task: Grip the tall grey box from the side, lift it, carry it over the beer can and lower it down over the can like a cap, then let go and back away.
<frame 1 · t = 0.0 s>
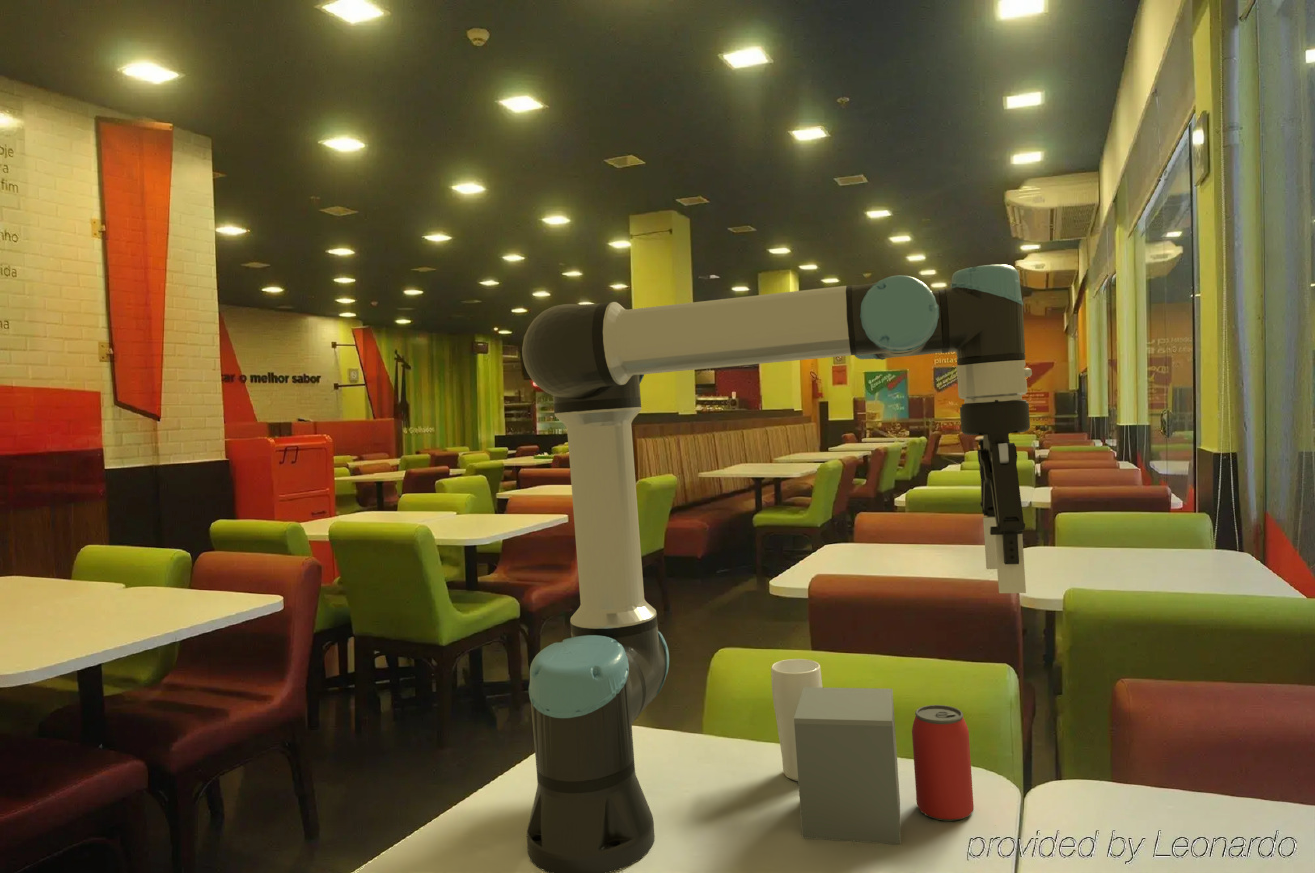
hand: (1004, 580, 100), 28 cm above the table, tool pointing down, fingers open, 13 cm apart
beer can: (945, 811, 104), on the table
tall grey box: (852, 817, 103), on the table
drinking glass: (803, 775, 116), on the table
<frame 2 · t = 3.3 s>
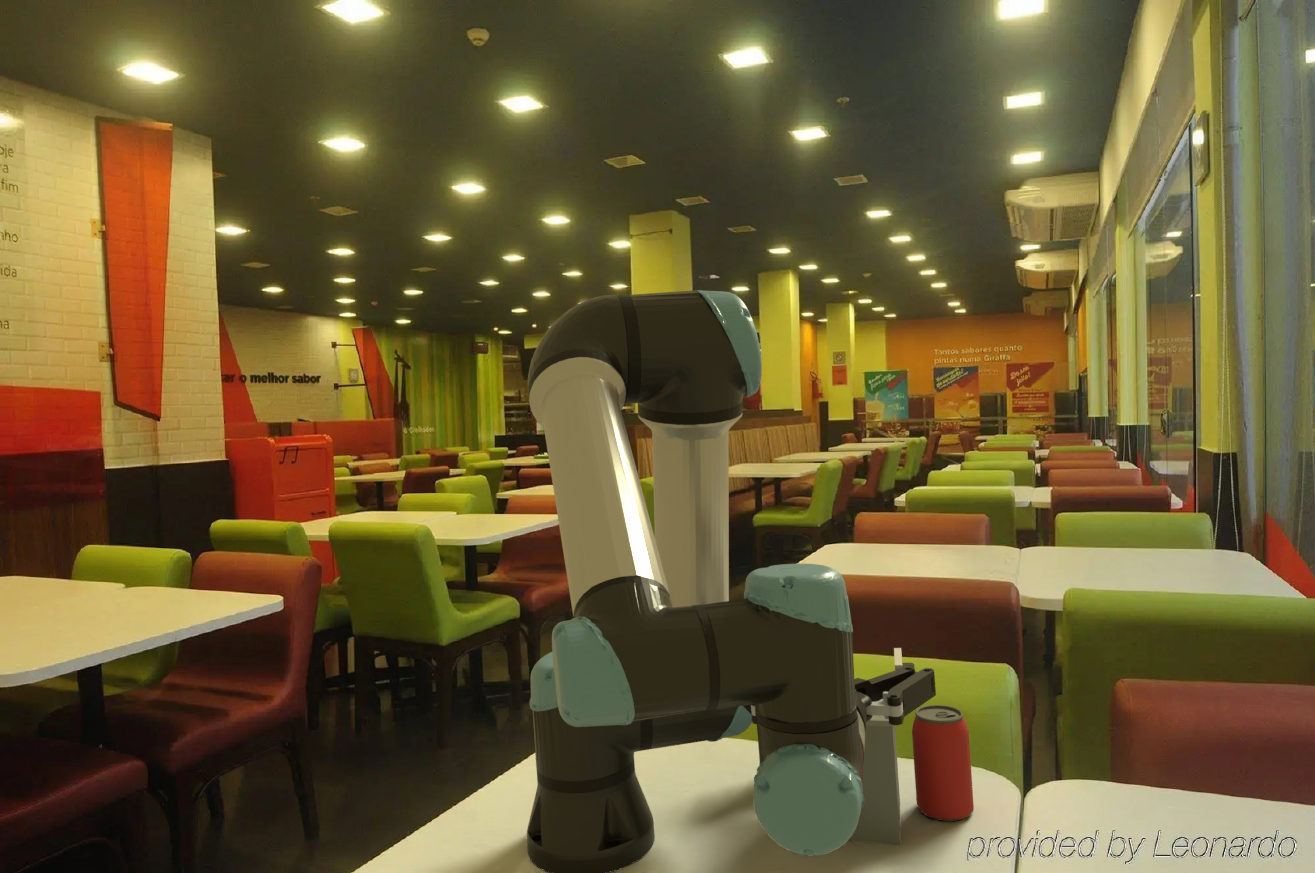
hand: (834, 660, 94), 22 cm above the table, tool horizontal, fingers open, 13 cm apart
nothing on the table moved.
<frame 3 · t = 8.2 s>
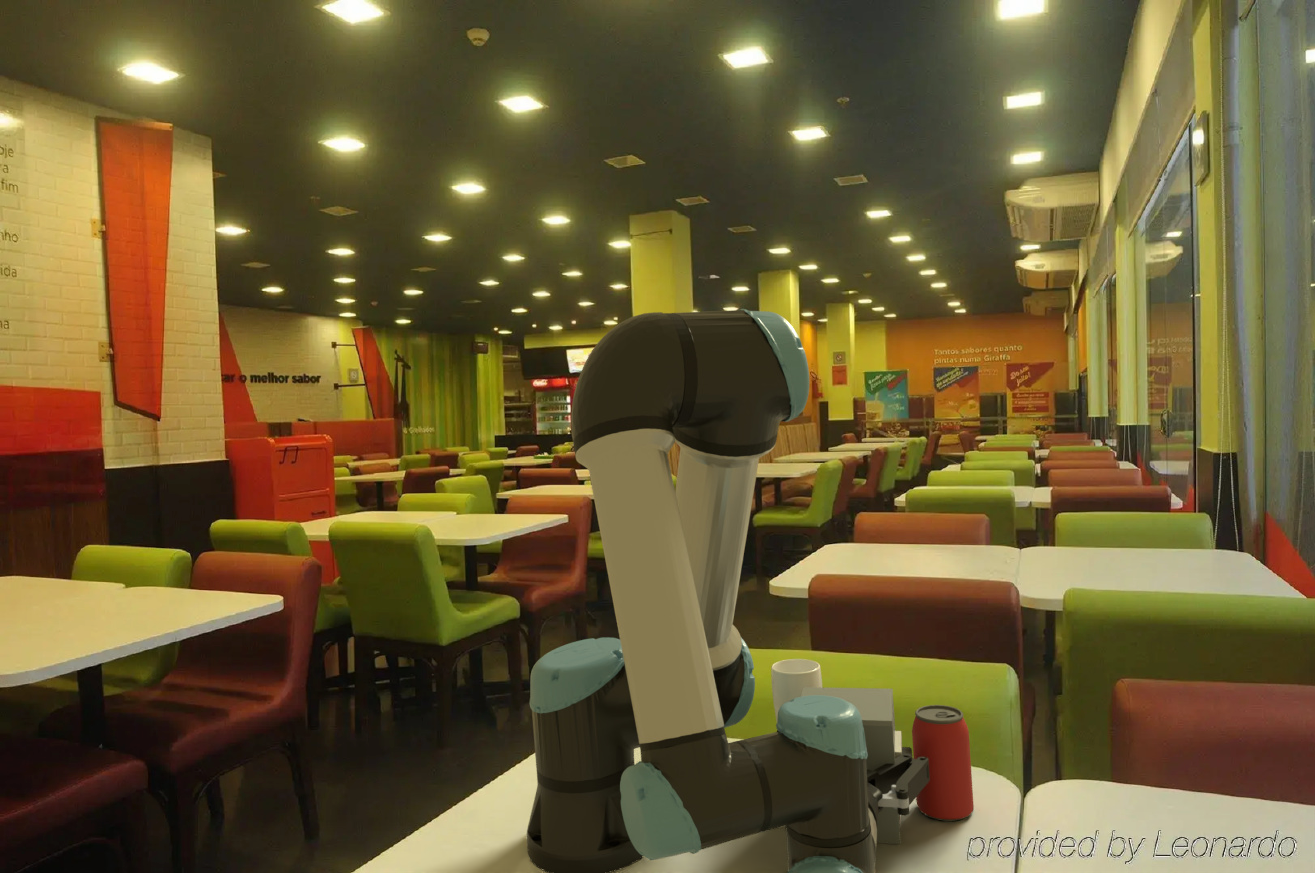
hand: (850, 739, 107), 8 cm above the table, tool horizontal, fingers closed on tall grey box, 11 cm apart
tall grey box: (852, 817, 103), on the table, touching gripper
everything else where it was.
when the fingers open (9 cm above the table, at t = 15.6 s): tall grey box stays where it is, on the table.
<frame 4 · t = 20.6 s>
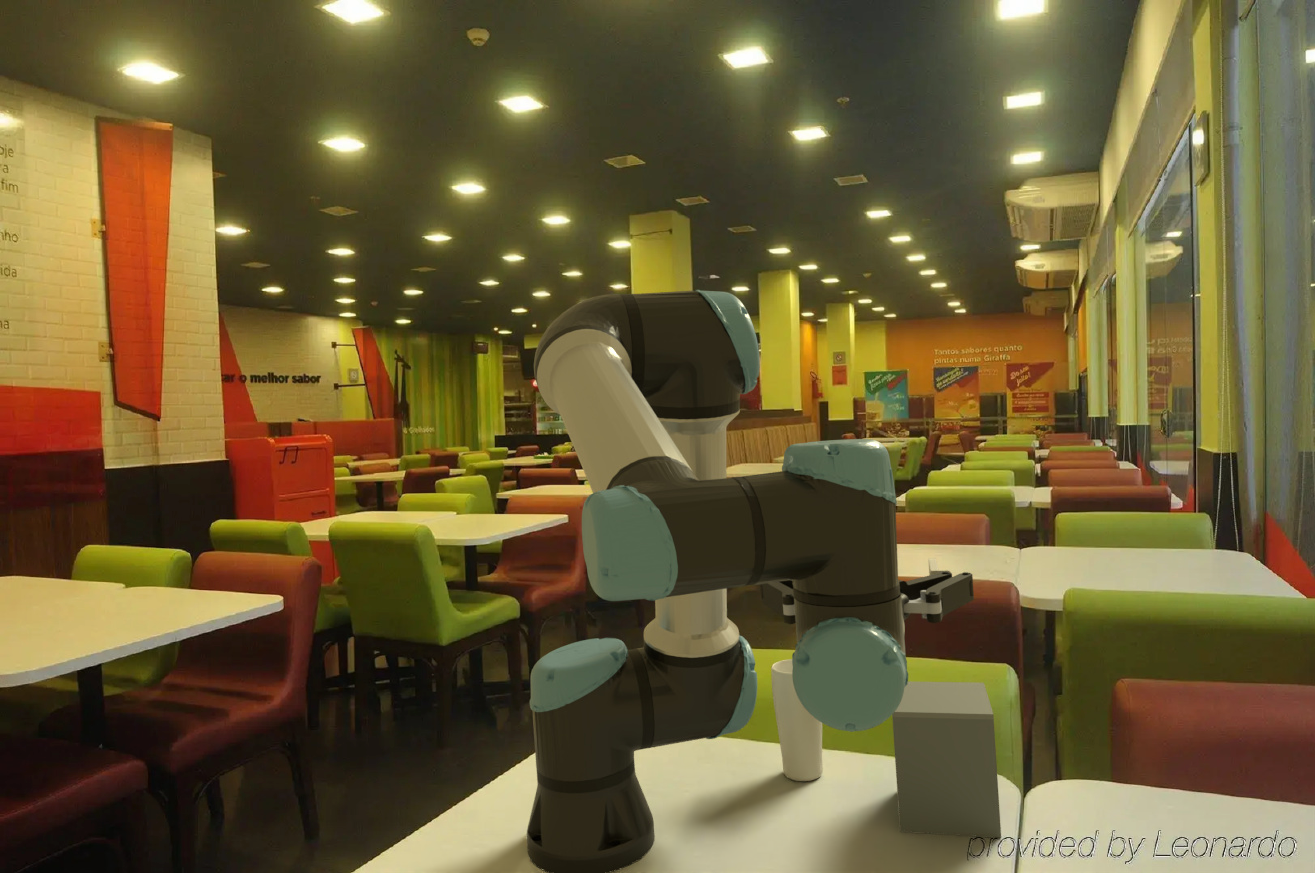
hand: (866, 572, 91), 32 cm above the table, tool horizontal, fingers open, 13 cm apart
tall grey box: (947, 811, 103), on the table
everything else where it was.
at the end: tall grey box 0.5 cm from the beer can (horizontally); tall grey box on the table; beer can tilted 0° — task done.
